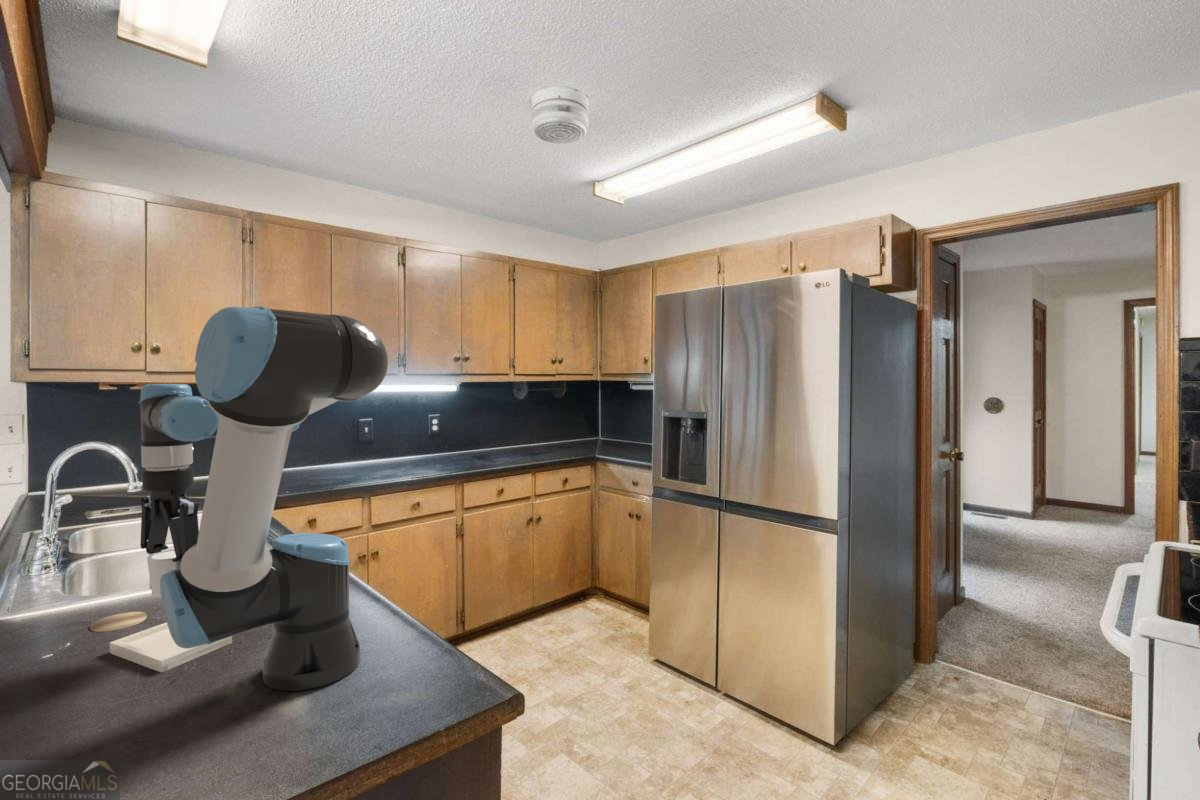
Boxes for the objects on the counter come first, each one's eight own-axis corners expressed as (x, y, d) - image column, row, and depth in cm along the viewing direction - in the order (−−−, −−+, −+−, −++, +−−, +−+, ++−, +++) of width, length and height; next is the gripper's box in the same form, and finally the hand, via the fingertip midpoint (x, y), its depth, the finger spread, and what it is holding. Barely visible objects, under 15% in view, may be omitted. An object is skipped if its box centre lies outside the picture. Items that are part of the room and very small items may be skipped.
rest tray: (232, 642, 107) (232, 632, 107) (161, 672, 96) (161, 661, 96) (181, 626, 113) (181, 617, 113) (109, 653, 102) (109, 642, 102)
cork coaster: (155, 620, 117) (155, 617, 117) (102, 637, 109) (101, 634, 109) (134, 611, 121) (134, 608, 121) (81, 627, 114) (81, 624, 113)
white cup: (187, 581, 109) (187, 546, 109) (198, 590, 105) (198, 553, 104) (143, 592, 104) (142, 554, 103) (153, 601, 99) (152, 563, 99)
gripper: (223, 468, 103) (225, 591, 104) (159, 460, 111) (162, 575, 112) (178, 474, 96) (181, 607, 97) (114, 466, 104) (117, 588, 105)
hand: (170, 589), depth 104 cm, fingers closed on white cup, 7 cm apart
